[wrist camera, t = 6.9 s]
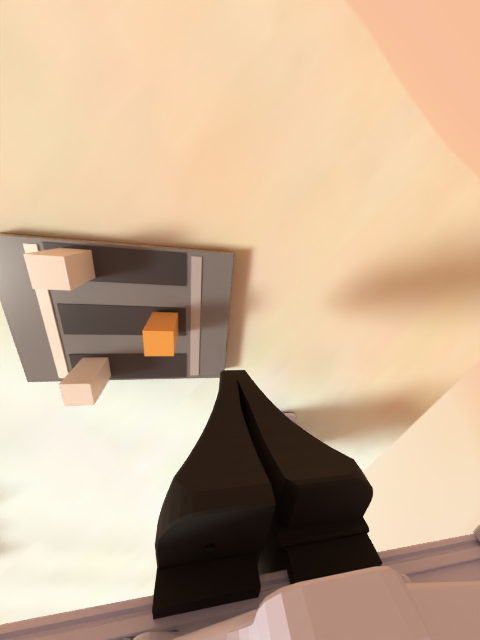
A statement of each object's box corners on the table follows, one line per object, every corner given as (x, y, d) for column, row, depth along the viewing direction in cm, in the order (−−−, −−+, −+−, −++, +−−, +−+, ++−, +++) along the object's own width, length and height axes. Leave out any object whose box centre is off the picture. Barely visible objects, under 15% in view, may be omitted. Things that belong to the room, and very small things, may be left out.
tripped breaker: (178, 312, 18) (173, 331, 15) (178, 334, 19) (173, 356, 16) (152, 311, 18) (142, 330, 15) (154, 333, 19) (144, 356, 16)
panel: (231, 251, 19) (241, 260, 14) (222, 369, 24) (227, 403, 19) (-5, 232, 16) (-87, 236, 11) (38, 372, 20) (-8, 414, 16)
